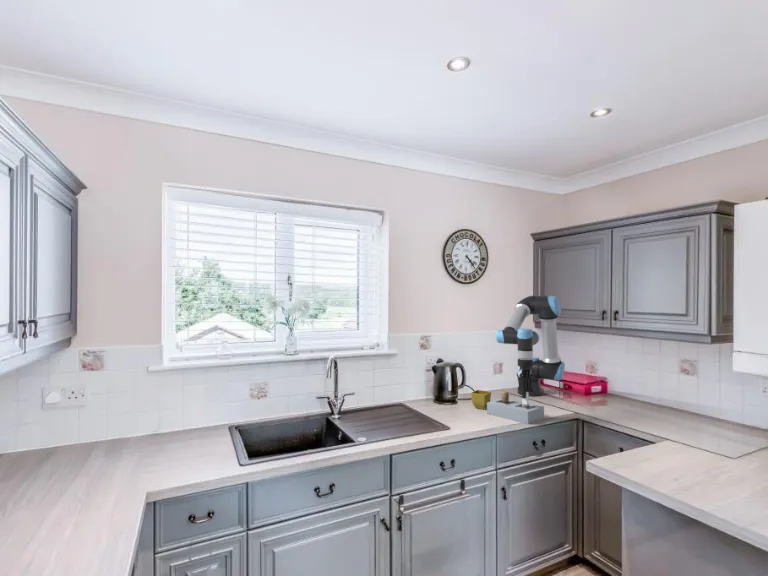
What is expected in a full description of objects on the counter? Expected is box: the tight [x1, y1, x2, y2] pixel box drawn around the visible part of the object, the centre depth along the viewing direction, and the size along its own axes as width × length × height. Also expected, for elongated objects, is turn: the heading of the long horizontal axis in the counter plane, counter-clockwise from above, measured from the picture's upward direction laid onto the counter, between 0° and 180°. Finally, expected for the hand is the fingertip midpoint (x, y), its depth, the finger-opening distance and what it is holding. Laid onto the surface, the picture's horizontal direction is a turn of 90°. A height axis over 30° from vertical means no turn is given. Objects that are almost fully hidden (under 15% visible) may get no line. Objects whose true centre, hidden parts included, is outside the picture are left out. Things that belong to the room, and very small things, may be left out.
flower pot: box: [470, 389, 492, 410], centre depth 239 cm, size 9×9×9 cm
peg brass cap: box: [501, 390, 510, 404], centre depth 228 cm, size 4×4×6 cm
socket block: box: [486, 397, 545, 425], centre depth 224 cm, size 16×24×6 cm, turn 41°
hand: (525, 404), depth 219 cm, fingers closed
